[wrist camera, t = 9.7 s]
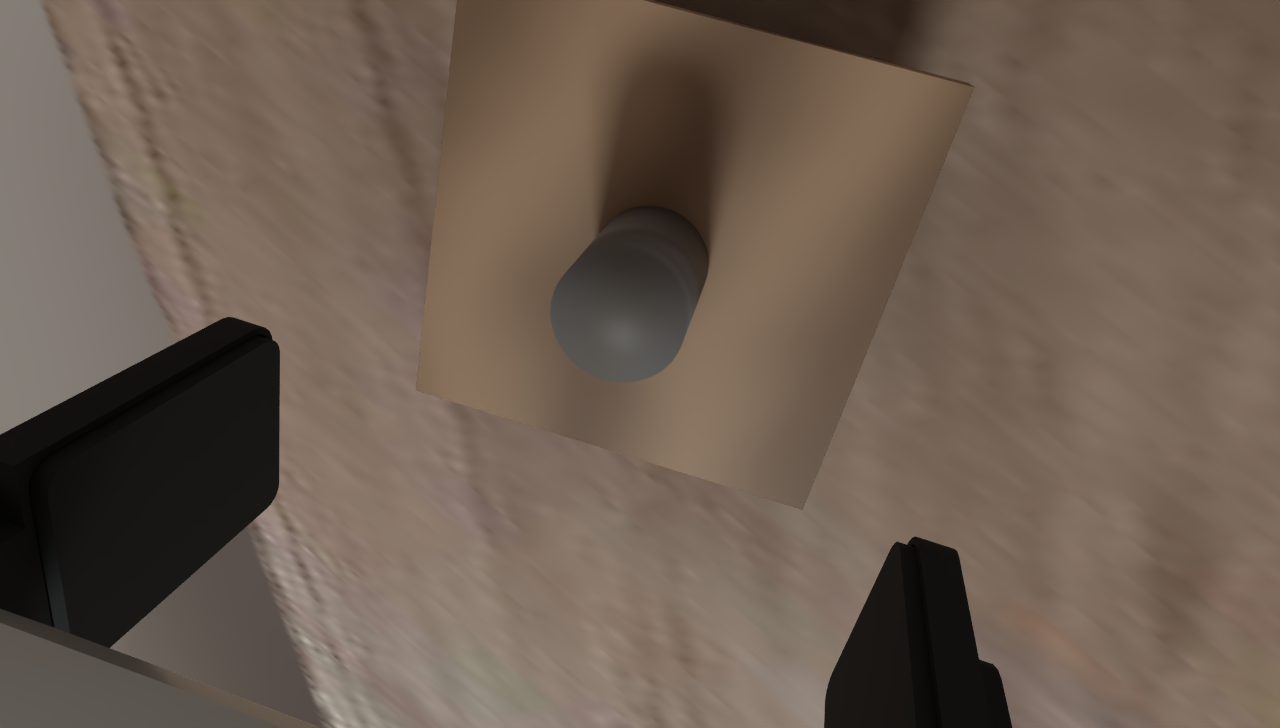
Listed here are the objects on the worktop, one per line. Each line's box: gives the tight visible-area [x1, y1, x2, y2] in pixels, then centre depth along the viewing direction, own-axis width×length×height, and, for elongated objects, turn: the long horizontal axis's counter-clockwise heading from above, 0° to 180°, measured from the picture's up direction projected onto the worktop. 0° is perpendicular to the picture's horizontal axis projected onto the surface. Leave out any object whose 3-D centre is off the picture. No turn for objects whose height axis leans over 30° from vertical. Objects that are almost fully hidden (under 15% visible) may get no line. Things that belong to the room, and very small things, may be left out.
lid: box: [416, 0, 974, 510], centre depth 19 cm, size 12×12×5 cm
